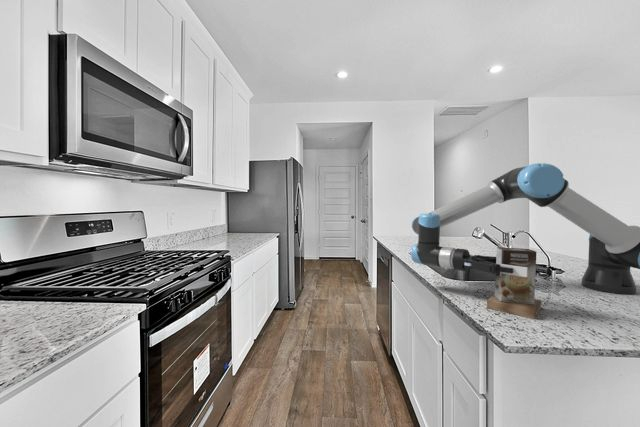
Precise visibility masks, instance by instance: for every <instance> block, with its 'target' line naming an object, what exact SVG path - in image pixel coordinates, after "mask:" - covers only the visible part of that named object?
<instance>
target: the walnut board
mask: <svg viewBox="0 0 640 427" xmlns="http://www.w3.org/2000/svg"><path fill="white" fill-rule="evenodd" d="M541 308H542V300H540V299H536V298H534V305H533V304H523V303H513V302H503V301H500V300H499V299H498V298H497V297H496V296H495V293H494V294H493V295H491V297H489V298H488V299H487V300H486V309H488V310H494V311H497V312H501V313H506V314H510V315H514V316H519V317H522V318H523V317H524V318H527V319H532V320H535V318H536V317H537V315H538V314H539V312H540V311H541Z"/></svg>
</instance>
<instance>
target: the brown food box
mask: <svg viewBox="0 0 640 427" xmlns="http://www.w3.org/2000/svg"><path fill="white" fill-rule="evenodd" d="M495 257H496V264H499V265H500V266H501V264H505V265H513V266H520V267H527V268H528V272H527V277H522V276H515V275H509V274H502V273H501V272H500V276H497V275H496V274H495V279H494V280H495V281H494V282H495V284H494V294H495V296H496V297H497V298H498V299H499V300H500V301H503V302H513V303H523V304H533V305H534V299H535V294H536V293H535V292H536V271H537V251H536V250H533V249H530V248H521V247H519V248H517V247H505V246H504V247H502V246H501V247H500V246H497V247H496V256H495Z"/></svg>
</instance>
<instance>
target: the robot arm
mask: <svg viewBox="0 0 640 427" xmlns="http://www.w3.org/2000/svg"><path fill="white" fill-rule="evenodd" d="M569 186H570V184H569V181H568V180H567V179H565V178H564V174H563V172H562V170H561V169H560V168H559V167H557V166H556V165H553V164H551V163H550V164H549V163H546V162H544V163H543V162H541V163H533V164H532V163H531V164H529V165H525V166H521V167H516V168H514V169H511V170H510V171H507V172H506V173H504V174H502V175H500V176H499V177H496V178H495V179H492V180H491V181H489V182H488V183H487V185H485V186H484V187H482V188H479V189H477V190H475V191H474V192H471V193H468V194H467V195H465V196H463V197H460V198H458V199H455V200H454V201H452V202H450V203H448V204H445V205H443V206H441V207H439V208H436V209H434V210H432V211H430V212H429V213H420V214H419V215H418V216H417V217H415V218H414V219H413V220H412V222H411V228H412V231H413V232H414V233H415V234H416V235H417V236H418V237H417V238H418V241H417V243H415V244H413V246H412V247H411V251H410V258H411V260H412V261H413V263H415V264H419V265H423V266H430V267H438V268H442V269H443V268H444V269H445V271H446V270H447V271H448V270H449V269H450V270H456V271H461V272H466V271H467V270H469V269H471V270H475V271H480V272H484V273H489V274H492V275H495V276H496V275H497V276H500V272H501V273H502V274H509V275H515V276H522V277H527V272H528V268H527V267H520V266H513V265H505V264H501V266H500V265H499V264H496V256H492V255H491V256H489V255H488V256H487V255H482V254H481V255H480V254H474V255H470V251H469V250H468V249H466V248H465V249H464V248H459V247H457V248H455V247H451V246H450V247H448V246H440V237H441V235H440V233H441V228H443V227H445V226H447V225H449V224H452V223H454V222H457V221H458V220H462V219H463V218H465V217H468V216H469V215H471V214H474V213H476V212H478V211H480V210H483V209H485V208H487V207H490V206H492V205H494V204H496V203H498V204H503V203H505V202H507V201H510V200H514V199H527V200H529V201H530V202H532V203H533V204H535V205H536V206H538V207H540V208H546V207H548V208H549V209H552V210H553V211H554V212H555V213H557V214H559V216H560V215H561V216H562V217H563V218H565V219H567V220H568V221H569V222H571V223H573V225H575V226H578V227H579V228H580V229H582V230H583V231H585V232H586V233H588V234H589V238H588V257H587V258H588V259H587V260H588V263H587V265H588V266H587V268H586V270H585V272H584V274H583V276H582V278H581V286H582V287H585V288H588V289H591V290H595V291H600V292H606V293H612V294H620V295H621V294H623V295H633V294H636V293H637V284H636V283H635V280H634V277H633V275H632V273H631V268H633V269H638V270H640V226H638V225H627V224H626V223H624V222H623V221H622V220H620V219H618V218H617V217H615V216H614V215H612V214H610V213H609V212H608V211H606V210H605V209H602V208H601V207H599V206H598V205H597V204H595V203H593V202H592V201H590V200H588V198H586V197H584V196H583V195H581V194H579V193H578V192H576V191H575V190H573V189H572V188H570V187H569Z"/></svg>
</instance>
